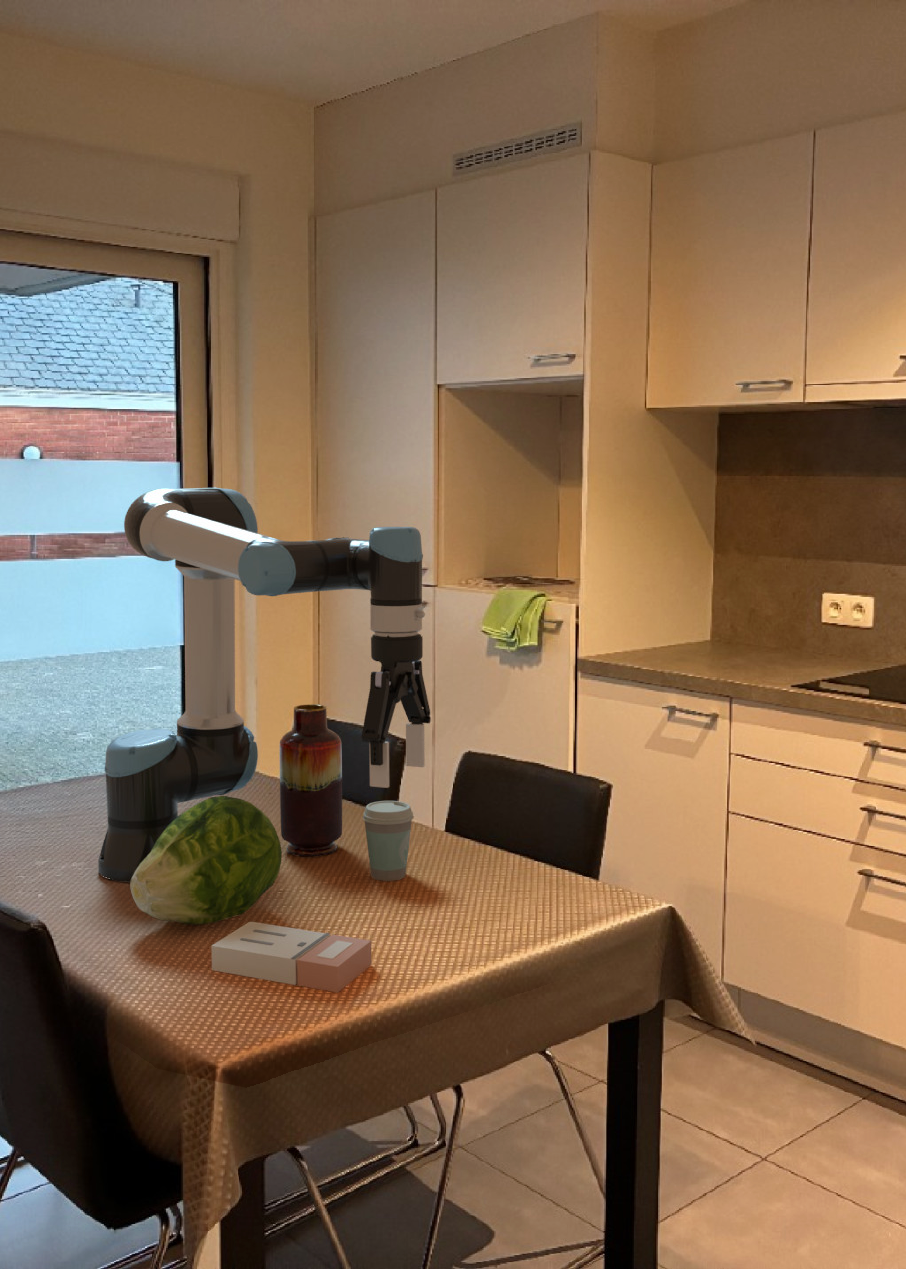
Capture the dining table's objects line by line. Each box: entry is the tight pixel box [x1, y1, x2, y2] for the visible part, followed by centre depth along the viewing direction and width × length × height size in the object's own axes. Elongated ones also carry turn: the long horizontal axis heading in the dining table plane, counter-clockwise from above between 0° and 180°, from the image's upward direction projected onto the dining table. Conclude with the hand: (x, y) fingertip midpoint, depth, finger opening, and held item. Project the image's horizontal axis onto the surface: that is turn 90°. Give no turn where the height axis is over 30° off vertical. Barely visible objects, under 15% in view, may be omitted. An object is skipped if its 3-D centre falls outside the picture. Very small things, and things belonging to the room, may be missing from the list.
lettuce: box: [129, 795, 283, 926], centre depth 189 cm, size 19×23×18 cm
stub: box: [297, 933, 372, 993], centre depth 169 cm, size 6×10×4 cm, turn 158°
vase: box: [279, 703, 343, 858], centre depth 224 cm, size 11×11×26 cm
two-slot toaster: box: [210, 921, 332, 986], centre depth 172 cm, size 13×10×4 cm
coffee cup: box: [362, 800, 415, 882], centre depth 210 cm, size 8×8×12 cm
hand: (398, 776), depth 184 cm, fingers open, 13 cm apart
